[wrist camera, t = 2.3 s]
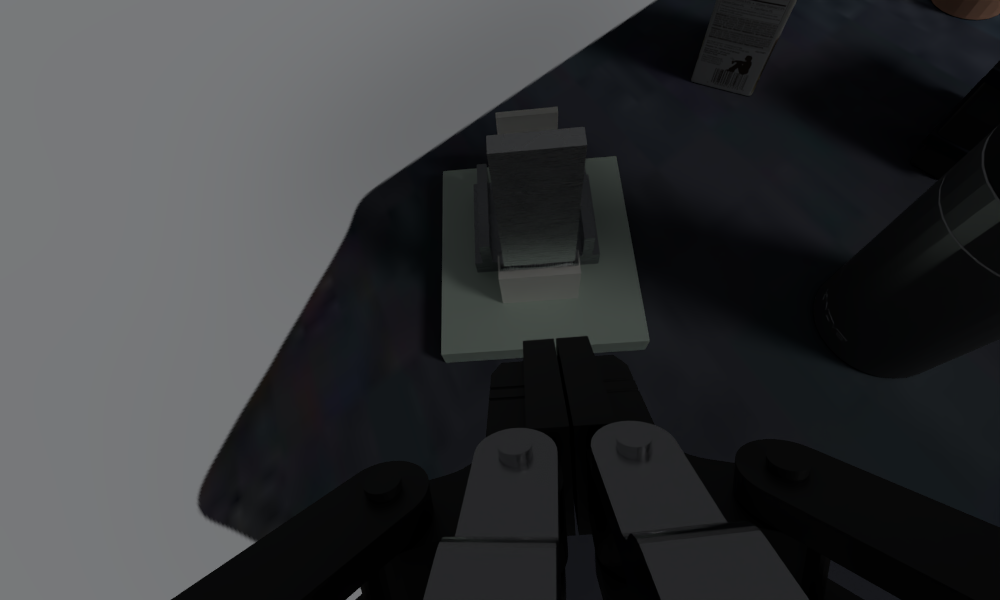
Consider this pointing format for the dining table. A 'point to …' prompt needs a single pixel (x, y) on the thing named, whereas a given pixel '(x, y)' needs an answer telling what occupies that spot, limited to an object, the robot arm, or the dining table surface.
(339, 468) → the dining table surface
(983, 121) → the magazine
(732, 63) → the coffee box
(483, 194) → the heat sink
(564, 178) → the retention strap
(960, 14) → the pepper shaker
